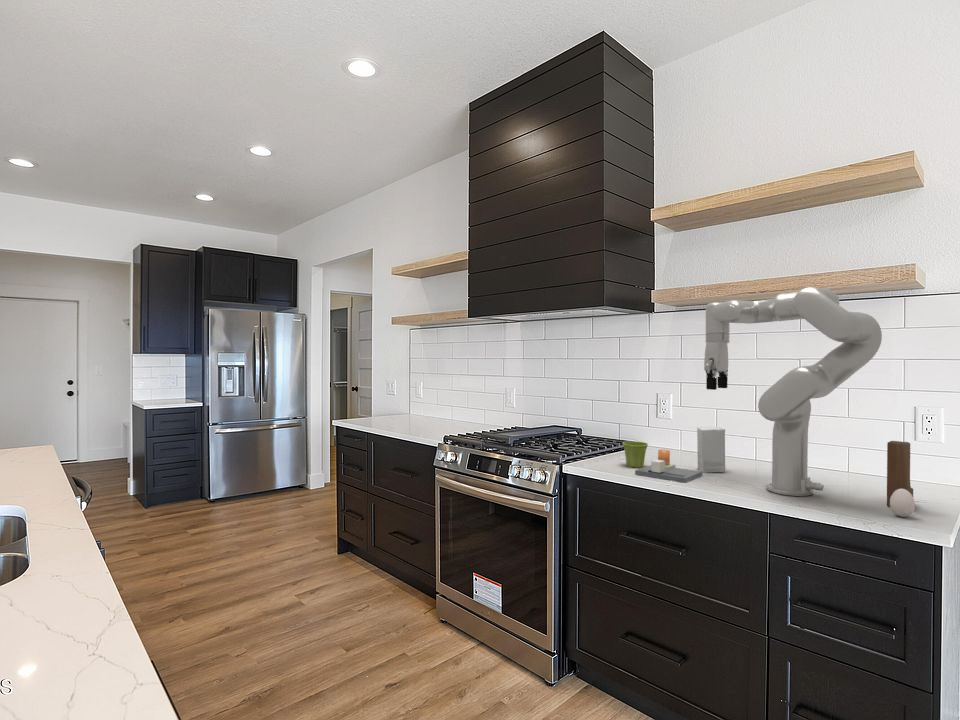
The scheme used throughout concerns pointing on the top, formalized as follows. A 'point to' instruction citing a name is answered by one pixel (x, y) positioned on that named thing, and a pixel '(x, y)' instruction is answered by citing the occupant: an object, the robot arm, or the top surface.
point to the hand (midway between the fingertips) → (717, 388)
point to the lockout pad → (670, 466)
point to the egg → (902, 503)
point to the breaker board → (671, 474)
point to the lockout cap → (664, 456)
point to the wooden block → (898, 468)
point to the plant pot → (635, 453)
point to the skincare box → (711, 449)
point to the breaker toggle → (658, 466)
